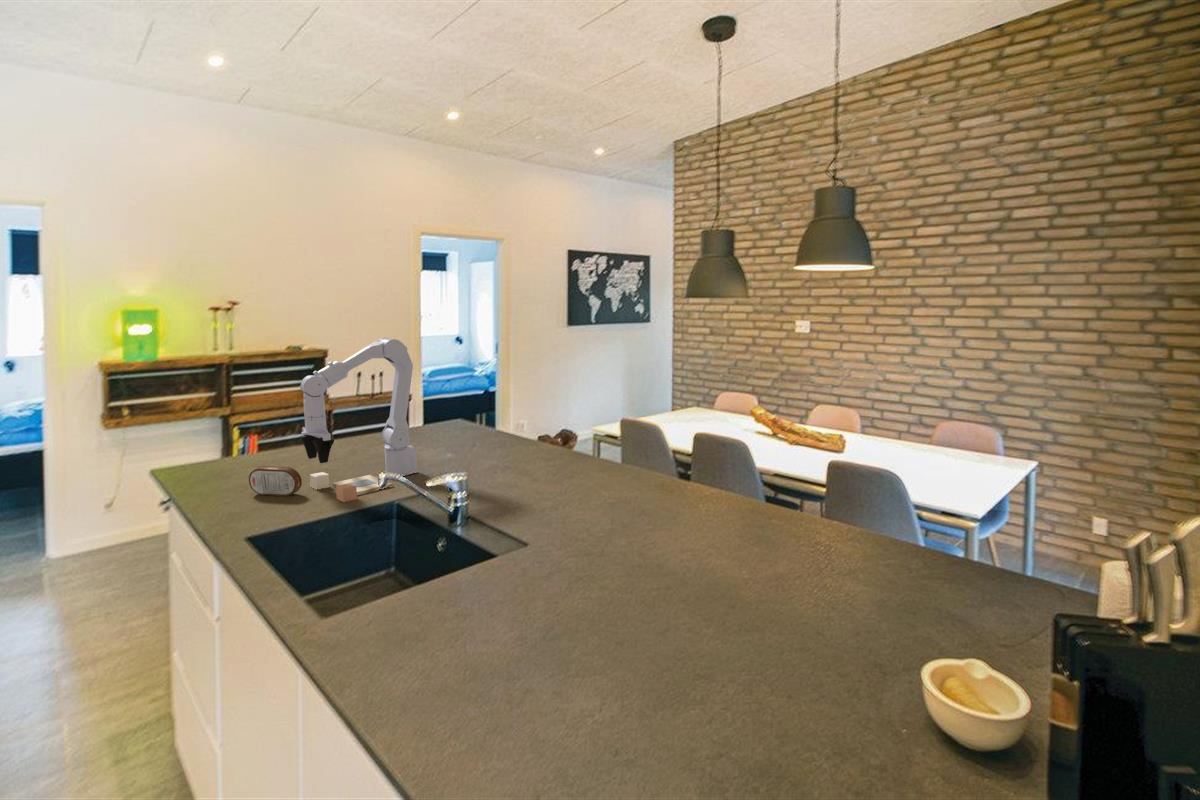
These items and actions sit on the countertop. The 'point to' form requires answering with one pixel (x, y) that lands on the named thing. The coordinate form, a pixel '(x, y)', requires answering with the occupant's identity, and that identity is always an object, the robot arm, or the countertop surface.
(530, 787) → the countertop surface
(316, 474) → the block base
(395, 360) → the robot arm
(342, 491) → the block top
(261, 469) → the tin
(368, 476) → the base board
